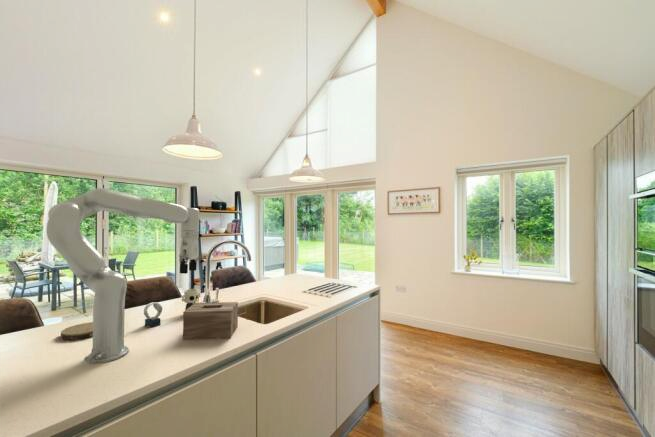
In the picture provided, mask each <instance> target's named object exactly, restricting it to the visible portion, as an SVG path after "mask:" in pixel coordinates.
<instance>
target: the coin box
mask: <svg viewBox="0 0 655 437" xmlns="http://www.w3.org/2000/svg"><path fill="white" fill-rule="evenodd" d="M238 306H239V302H238V301H226V302H225V301H224V302H221V301H220V302H216V301H215V302H196V303H194V304H193V305H192V306H190V307H189V308H188V309H186V310H185V309H184V311H183V314H182V319H183V320H182V333H183V334H182V340H185V341H187V340H189V341H190V340H213V339H216V338H221V339H231V338H232V337H233V335H234V334H233V333H235V332H236V330H237V328H238V326H239V325H238V323H239V322H238V321H239V320H238V319H239V318H238V317H239V314H238V312H239V307H238Z"/></svg>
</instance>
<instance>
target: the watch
mask: <svg viewBox="0 0 655 437" xmlns="http://www.w3.org/2000/svg"><path fill="white" fill-rule="evenodd" d="M151 306H153V308H154V309H155V310H156V311H157V313H156V315H154V316H150V315H149V313H148V309H149V307H151ZM162 312H163V306H162V305H161V304H160V303H159V302H154V301H153V302H149V303H148V304H146V305H145V306H144V309H143V315H144V317H145V319H144V326H145V327H148V328H154V327H158V326H160V325H161V318H159V317H160V316H161V315H162Z"/></svg>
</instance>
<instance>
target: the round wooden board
mask: <svg viewBox="0 0 655 437" xmlns="http://www.w3.org/2000/svg"><path fill="white" fill-rule="evenodd" d="M91 338H92V339H93V321H91V322H90V321H89V322H83V323H80V324H75V325H72V326H68V327H66V328H63V329H62V330H61V331H60V339H61V341H64V342H65V341H67V342H74V341H82V340H87V339H91Z"/></svg>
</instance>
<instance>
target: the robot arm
mask: <svg viewBox="0 0 655 437" xmlns="http://www.w3.org/2000/svg"><path fill="white" fill-rule="evenodd" d="M101 211H103V212H108V213H113V214H118V215H119V214H120V215H124V216H127V217H132V218H133V217H134V218H141V219H155V220H162V221H163V222H166V223H168V224H180V238H181V240H180V246H179V247H180V252H179V255H178V256H179V274H185V275H187V274H188V273H189V272H188V271H196V270H197V267H198V266H197V265H198V264H197V262H198V258H199V255H200V252H199V251H200V246H199V244H200V243H199V234H200V209H199V208H195V207H185V206H183V205H181V204H176V203H173V202H172V203H171V202H167V201H163V200H157V199H152V198H149V197H144V196H139V195H134V194H130V193H127V192H123V191H118V190H115V189H111V188H107V187H106V188H105V187H98V188H94V189H91V190H88V191H87V192H84V193H82V194H80V195H78V196H75V197H71V198H69V199H67V200H64V201H61V202H59V203H57V204H55V205H52V206H51V207H50V208H49V210H48V214H47V216H48V220H47V223H46V230H45V231H46V236H47V239H48V241H49V243H50V244H51V246H53V248H54V249H55V250H56V252H58V253H59V254H60V255H61V257H62V258H64V260H66V266H67V268H68V269H69V270H70V271H71V272H72V273H73V274H74V275H75V276H76V277H77V278H78V279H79V280H80V281H81V282H82V283H83V284H84V285H85V286H86V287H87V288H88V289H89V290H90V291H92V292H93V293H94V299H93V306H92V308H93V309H92V322H93V337H92V348H91V351H90V353H89V354H88V355H87V356H85V357H84V358H83V361H84V362H85V363H88V362H89V363H92V364H100V363H108V362H111V361H114V360H117V359H120V358H121V357H124V356H125V355H127V354H128V353H129V349H130V348H129V346H126V345H125V304H126V295H127V294H126V293H127V290H128V289H127V288H128V283H127V280H126V278H125V277H124V275H123V274H122V273H120V272H117V271H115V270H112V269H111V268H110V267H109V265H108V264H107V263H106V260H105V258H104V255H102V254H101V253H100V252H99V251H98V250H97V249H96V248H95V246H93V244H92V243H90V242H89V241H88V239H87V238H86V236H84V234H83V233H82V230H81V223H82V222H83V221H84V219H86V218H88V217H91V216H93V215H95V214H97V213H99V212H101ZM188 262H189V264H188Z"/></svg>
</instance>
